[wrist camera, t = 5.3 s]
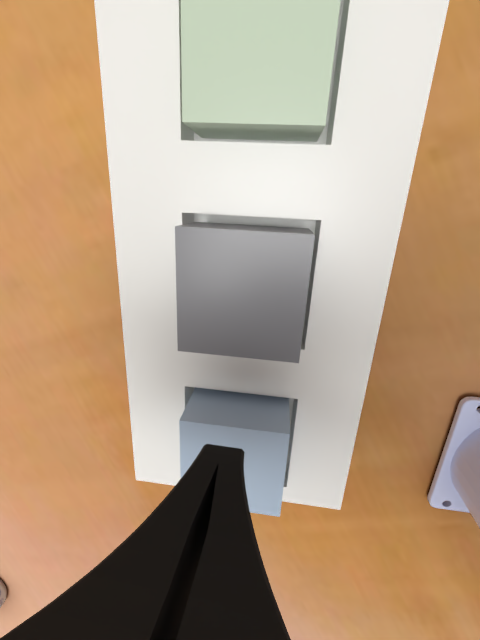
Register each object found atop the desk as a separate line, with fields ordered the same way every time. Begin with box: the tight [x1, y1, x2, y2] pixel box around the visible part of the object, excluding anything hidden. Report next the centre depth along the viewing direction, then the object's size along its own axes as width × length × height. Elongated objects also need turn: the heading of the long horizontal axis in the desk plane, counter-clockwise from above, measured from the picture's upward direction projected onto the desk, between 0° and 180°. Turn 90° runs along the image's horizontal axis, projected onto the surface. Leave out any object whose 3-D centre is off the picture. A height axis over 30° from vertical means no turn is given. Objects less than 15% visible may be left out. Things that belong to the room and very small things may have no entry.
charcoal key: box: [175, 222, 315, 363], centre depth 14 cm, size 5×5×3 cm
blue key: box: [179, 387, 290, 517], centre depth 17 cm, size 5×5×3 cm
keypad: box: [94, 0, 449, 510], centre depth 16 cm, size 12×25×3 cm, turn 177°
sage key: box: [181, 0, 341, 142], centre depth 12 cm, size 5×5×3 cm
